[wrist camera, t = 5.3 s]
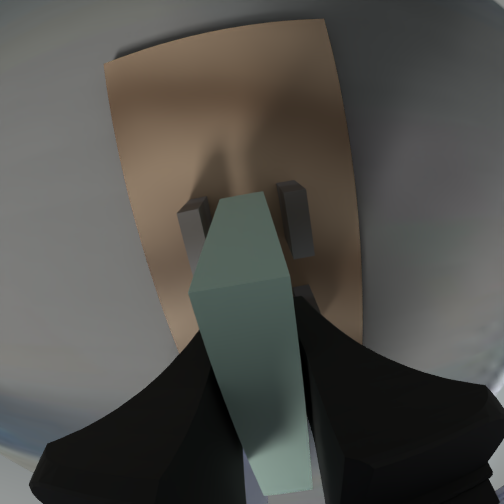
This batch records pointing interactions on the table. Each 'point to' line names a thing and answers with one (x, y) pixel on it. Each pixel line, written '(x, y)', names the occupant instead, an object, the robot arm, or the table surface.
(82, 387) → the table surface
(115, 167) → the table surface
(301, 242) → the rail
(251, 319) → the door panel
